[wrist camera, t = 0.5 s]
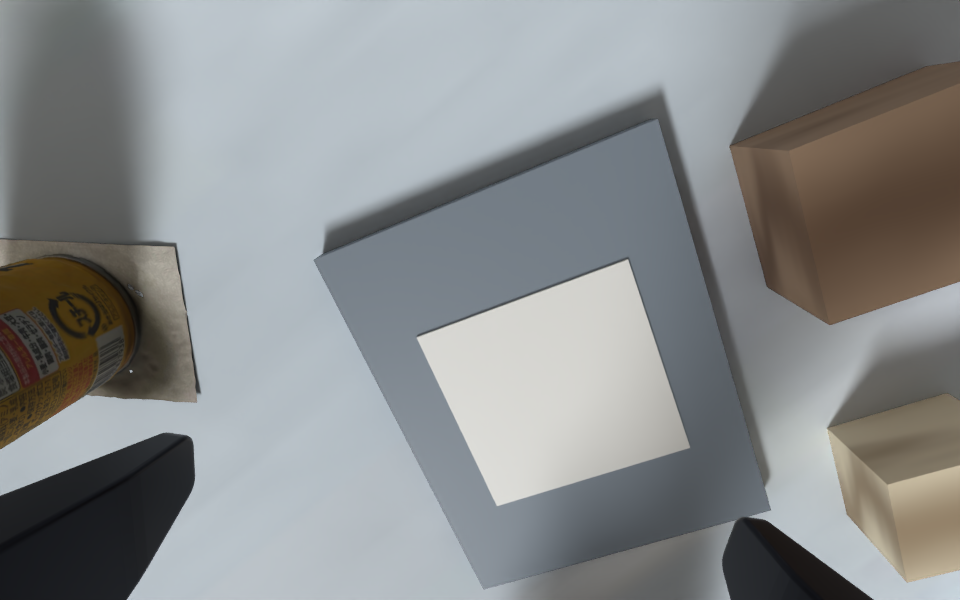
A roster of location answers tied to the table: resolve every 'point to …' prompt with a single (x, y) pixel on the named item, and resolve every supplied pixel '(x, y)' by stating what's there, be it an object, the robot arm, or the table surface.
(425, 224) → the board
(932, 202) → the walnut block
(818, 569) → the robot arm
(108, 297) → the condiment
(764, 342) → the table surface
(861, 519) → the birch cube
